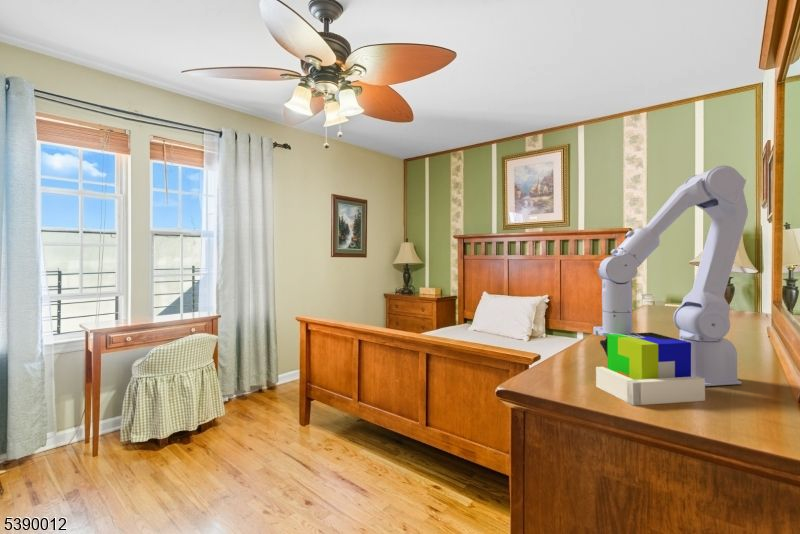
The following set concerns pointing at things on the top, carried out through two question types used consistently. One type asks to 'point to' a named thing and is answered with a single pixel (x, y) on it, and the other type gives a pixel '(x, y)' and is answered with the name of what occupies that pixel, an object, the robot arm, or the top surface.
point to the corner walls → (650, 388)
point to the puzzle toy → (649, 356)
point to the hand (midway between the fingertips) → (618, 373)
